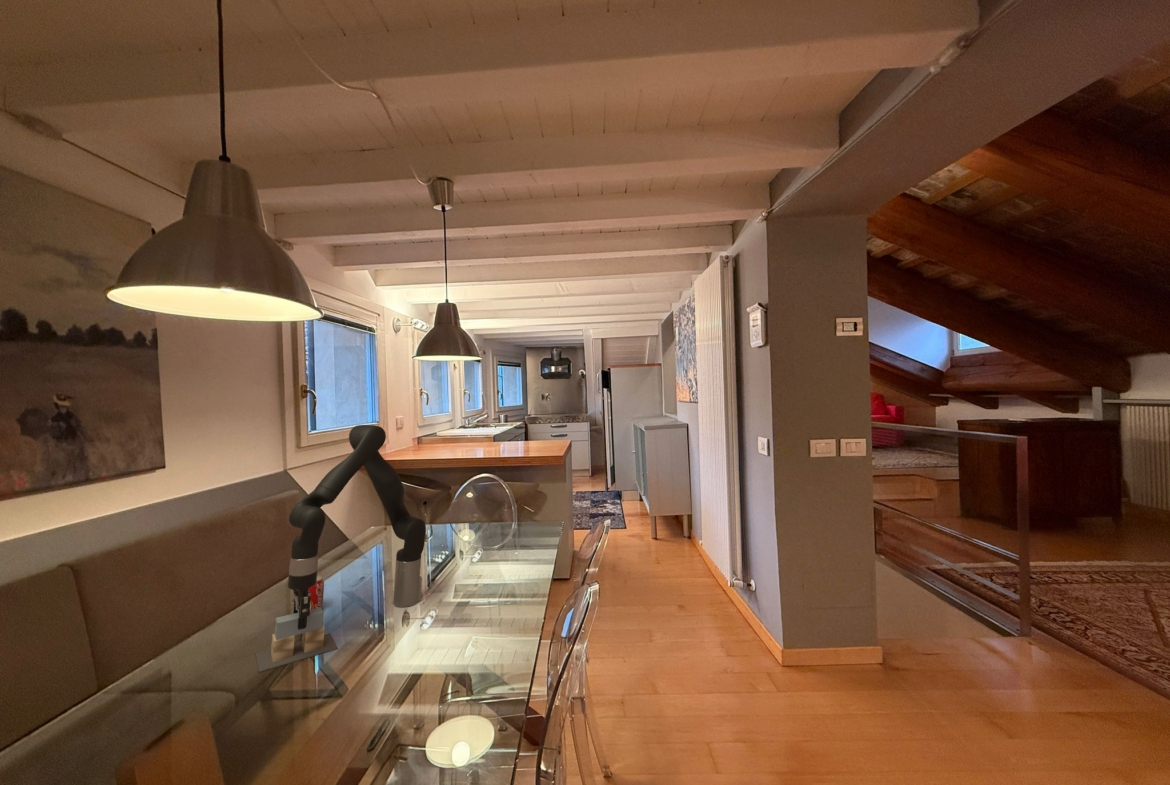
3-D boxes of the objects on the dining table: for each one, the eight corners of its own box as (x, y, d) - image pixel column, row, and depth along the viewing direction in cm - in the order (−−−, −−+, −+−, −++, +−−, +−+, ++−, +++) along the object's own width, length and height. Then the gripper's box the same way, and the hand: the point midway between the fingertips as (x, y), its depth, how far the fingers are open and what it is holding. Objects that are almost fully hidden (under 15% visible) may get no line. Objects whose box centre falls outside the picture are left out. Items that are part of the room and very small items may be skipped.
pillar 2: (319, 640, 139) (321, 621, 140) (323, 647, 136) (324, 628, 136) (301, 645, 136) (303, 626, 136) (304, 652, 132) (306, 633, 132)
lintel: (320, 622, 139) (321, 607, 139) (322, 628, 136) (323, 612, 136) (274, 634, 131) (275, 617, 131) (276, 640, 128) (277, 623, 128)
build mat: (330, 633, 144) (330, 632, 144) (337, 648, 136) (337, 647, 136) (255, 654, 131) (255, 653, 131) (259, 672, 122) (259, 671, 122)
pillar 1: (290, 648, 134) (291, 629, 134) (293, 656, 130) (294, 636, 130) (270, 654, 131) (272, 634, 131) (272, 662, 127) (274, 641, 127)
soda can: (311, 617, 154) (313, 583, 154) (294, 614, 155) (297, 581, 155) (326, 608, 161) (329, 576, 161) (310, 605, 162) (313, 573, 162)
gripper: (322, 575, 131) (318, 628, 131) (312, 560, 142) (309, 610, 141) (292, 580, 126) (288, 636, 126) (285, 565, 137) (281, 617, 136)
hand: (299, 622), depth 133 cm, fingers open, 8 cm apart
